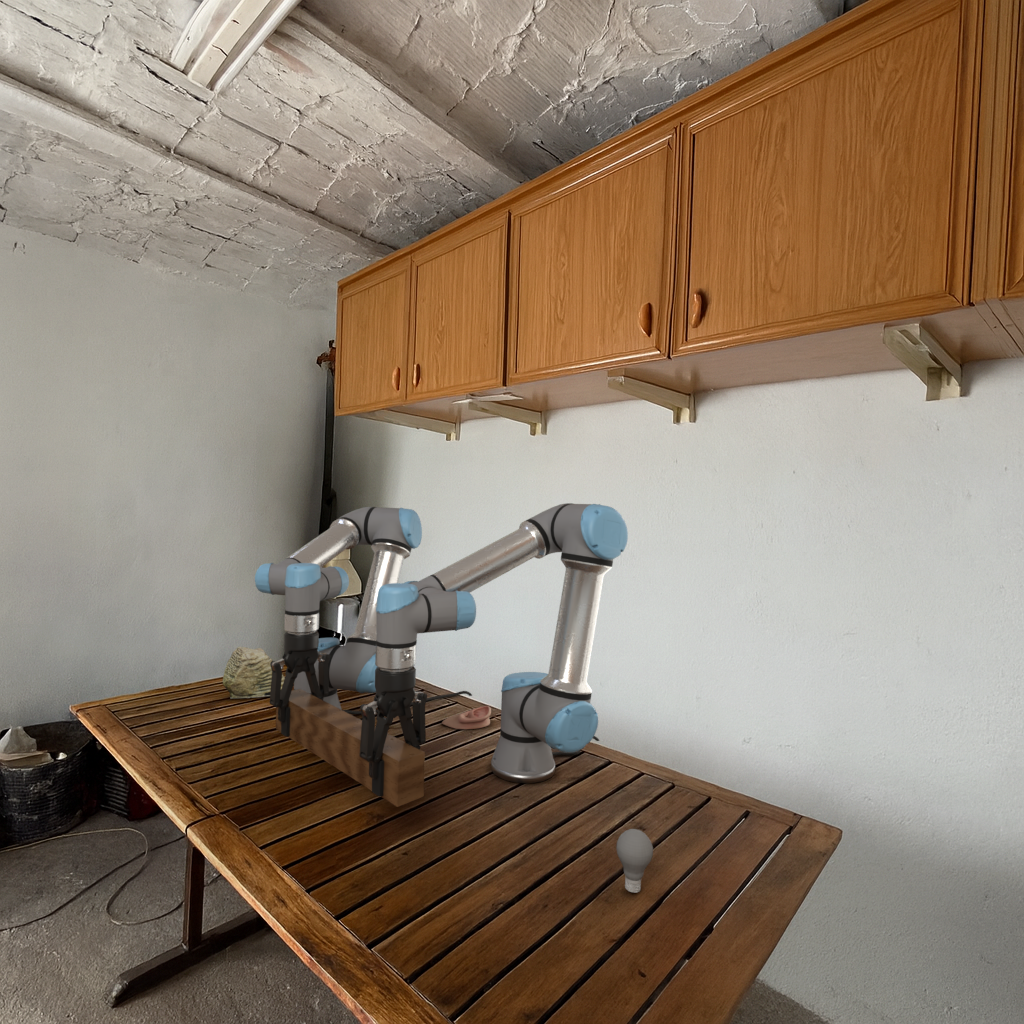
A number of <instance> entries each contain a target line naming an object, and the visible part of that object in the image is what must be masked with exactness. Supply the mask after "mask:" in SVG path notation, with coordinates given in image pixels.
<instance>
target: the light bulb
mask: <svg viewBox="0 0 1024 1024" xmlns="http://www.w3.org/2000/svg"><path fill="white" fill-rule="evenodd" d="M615 849H616V854H617V857H618V859H619V861H620V863H621V865H622V867H623V873H624V874H623V875H624V876H625V878H624V888H625V890H627V891H628V892H630V893H634V894H635V893H639V892H640V891H641V889H642V887H641V886H642V879H643V877H644V875H645V871H646V868H647V867H648V866H649V864H650V863H651V861H652V859H653V855H654V847H653V843H652V841H651V838H649V836H648V835H647V834H646V833H645V832H643V831H642V830H641V829H636V828H629V829H627V830H625V831H623V832H622V833H621V834H620V835H619V837H618V839H617V841H616V847H615Z"/></svg>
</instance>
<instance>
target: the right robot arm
mask: <svg viewBox="0 0 1024 1024" xmlns="http://www.w3.org/2000/svg"><path fill="white" fill-rule="evenodd" d="M628 538H629V532H628V526H627V524H626V521H625V519H624V518H623V516H622V514H621V513H620V512H619V511H618V510H616V509H615V508H614V507H613V506H612V507H611V506H609V505H602V504H601V503H599V504H596V503H571V502H569V503H568V502H567V503H561V504H558V505H555V506H552V507H550V508H548V509H546V510H543V511H541V512H540V513H538V514H535V515H534V516H531V517H530V518H527V519H526V520H524V521H522V522H520V524H519V528H518V529H516V530H514V531H511V532H510V533H508V534H507V535H505V536H503V537H501V538H499V539H497V540H495V541H493V542H491V543H489V544H487V545H486V546H484V547H482V548H480V549H478V550H476V551H474V552H472V553H471V554H469V555H466V556H465V557H463V558H461V559H458V560H456V561H455V562H453V563H451V564H450V565H447V566H446V567H443V568H442V569H440V570H438V571H436V572H434V573H432V574H430V575H428V576H426V577H424V578H422V579H420V580H408V581H404V582H400V583H399V582H398V583H391V584H385V585H383V586H381V587H380V588H379V590H378V596H377V607H376V655H375V665H376V666H377V668H376V670H375V688H376V693H375V695H374V697H373V701H371V702H370V703H368V704H365V703H363V704H361V705H360V707H359V708H360V709H359V711H361V714H360V715H361V720H362V728H361V741H360V754H359V756H360V757H361V758H363V759H364V760H366V761H368V762H369V776H370V777H371V778H372V791H371V793H373V794H374V795H375V796H377V797H379V798H382V796H383V791H384V761H383V760H382V759H381V755H382V752H383V748H384V744H385V741H386V737H387V733H388V734H389V729H390V726H391V725H392V724H393V722H394V719H395V718H397V717H398V720H399V724H400V728H401V731H402V735H403V739H404V742H405V743H407V744H409V745H411V746H413V747H415V748H417V749H419V750H421V745H424V744H425V743H426V741H427V738H426V737H427V735H426V734H427V733H426V703H427V701H426V699H427V698H428V694H427V693H425V692H423V691H420V690H415V687H416V681H417V680H416V678H417V676H416V675H417V669H416V667H415V665H416V664H417V643H418V642H417V641H418V634H427V633H437V632H438V633H439V632H449V631H450V632H451V631H455V632H457V631H459V630H466V629H470V628H471V627H472V626H473V625H474V623H475V621H476V619H477V618H476V617H477V604H476V600H475V598H474V595H472V592H474V591H475V590H478V589H480V588H481V587H483V586H485V585H487V584H488V583H490V582H492V581H494V580H495V579H497V578H499V577H501V576H503V575H505V574H506V573H508V572H511V571H512V570H513V569H515V568H518V567H519V566H521V565H522V564H525V563H527V562H528V561H529V560H532V559H534V558H535V559H543V558H544V557H546V556H548V555H551V554H555V553H561V555H560V561H561V562H562V564H563V565H564V567H565V572H564V578H563V584H562V589H561V590H562V591H561V596H560V601H559V602H560V603H559V608H558V613H557V614H558V615H557V621H556V627H555V633H554V638H553V644H552V650H551V655H550V662H549V668H548V673H546V672H541V671H521V672H513V673H509V674H507V675H506V676H504V678H503V680H502V686H501V691H500V692H501V705H500V732H499V733H500V734H499V739H498V741H497V744H496V746H495V749H494V751H493V754H492V757H491V761H490V769H491V772H492V774H494V775H495V776H496V777H498V778H499V779H502V780H505V781H507V782H511V783H517V784H536V783H541V782H545V781H547V780H550V779H551V778H552V777H554V775H555V771H556V762H555V759H554V756H570V757H574V756H578V755H579V754H580V753H581V750H583V749H584V748H585V747H586V746H587V745H588V744H589V743H591V741H592V740H595V741H596V742H600V738H598V737H597V736H595V735H596V733H597V730H598V726H599V715H598V714H599V713H598V712H597V711H596V708H595V707H594V705H593V704H592V703H591V701H592V694H593V689H592V688H591V686H590V685H589V683H588V676H589V670H590V663H591V657H592V650H593V644H594V639H595V638H594V637H595V633H596V626H597V619H598V613H599V607H600V602H601V596H602V588H603V582H604V578H605V577H604V576H605V575H606V573H608V572H609V571H610V570H612V569H613V563H614V560H615V559H616V558H619V557H620V556H621V554H622V553H623V552H624V551H625V550H626V547H627V544H628ZM412 702H413V705H411V703H412ZM410 705H411V706H412V709H411V706H410ZM376 710H378V713H376ZM374 730H375V731H374ZM552 749H553V750H557V751H552Z"/></svg>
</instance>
